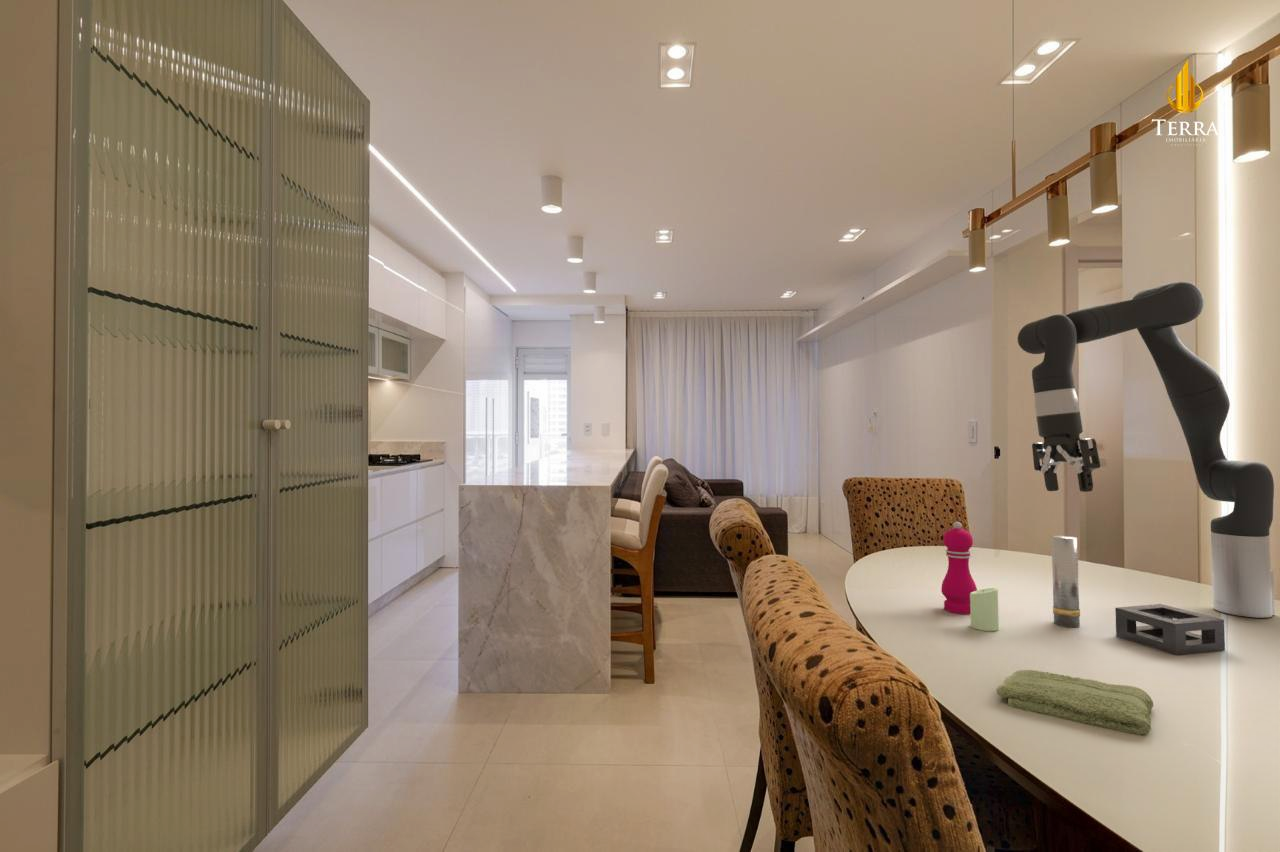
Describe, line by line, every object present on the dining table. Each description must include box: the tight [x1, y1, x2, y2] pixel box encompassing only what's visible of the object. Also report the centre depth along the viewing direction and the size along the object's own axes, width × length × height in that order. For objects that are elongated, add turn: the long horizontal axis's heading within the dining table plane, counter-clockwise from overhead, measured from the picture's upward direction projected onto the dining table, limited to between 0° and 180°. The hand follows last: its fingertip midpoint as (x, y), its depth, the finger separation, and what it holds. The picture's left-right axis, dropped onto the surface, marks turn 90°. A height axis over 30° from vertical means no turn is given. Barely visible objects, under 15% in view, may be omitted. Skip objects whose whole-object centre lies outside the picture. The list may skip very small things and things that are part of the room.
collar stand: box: [1114, 603, 1226, 656], centre depth 114 cm, size 11×11×6 cm
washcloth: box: [996, 669, 1154, 736], centre depth 88 cm, size 13×18×3 cm
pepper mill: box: [940, 521, 978, 615], centre depth 137 cm, size 7×7×20 cm
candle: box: [970, 587, 1000, 632], centre depth 125 cm, size 5×5×8 cm
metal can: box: [1051, 535, 1081, 628], centre depth 126 cm, size 5×5×18 cm
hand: (1069, 491), depth 124 cm, fingers open, 8 cm apart
